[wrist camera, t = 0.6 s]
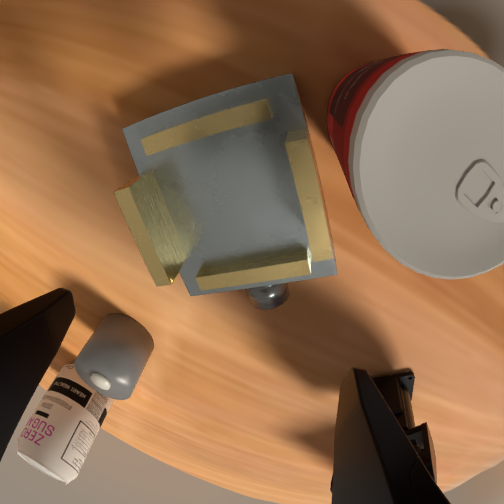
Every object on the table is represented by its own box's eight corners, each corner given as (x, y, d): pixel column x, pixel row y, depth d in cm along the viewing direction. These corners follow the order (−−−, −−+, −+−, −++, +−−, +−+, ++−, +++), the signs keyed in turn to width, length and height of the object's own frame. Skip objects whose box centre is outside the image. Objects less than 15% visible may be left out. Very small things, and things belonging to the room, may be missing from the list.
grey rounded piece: (163, 355, 31) (141, 405, 26) (119, 356, 33) (95, 400, 27) (136, 311, 28) (106, 360, 23) (92, 315, 30) (60, 358, 24)
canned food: (421, 198, 19) (497, 301, 10) (309, 159, 19) (314, 245, 10) (459, 94, 15) (577, 126, 6) (343, 44, 15) (390, 3, 6)
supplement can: (100, 403, 40) (60, 484, 27) (57, 367, 38) (7, 447, 25) (126, 394, 37) (82, 490, 24) (77, 353, 34) (19, 448, 21)
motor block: (338, 273, 23) (344, 331, 18) (210, 293, 26) (188, 347, 21) (293, 74, 17) (289, 71, 12) (144, 121, 19) (93, 139, 14)
